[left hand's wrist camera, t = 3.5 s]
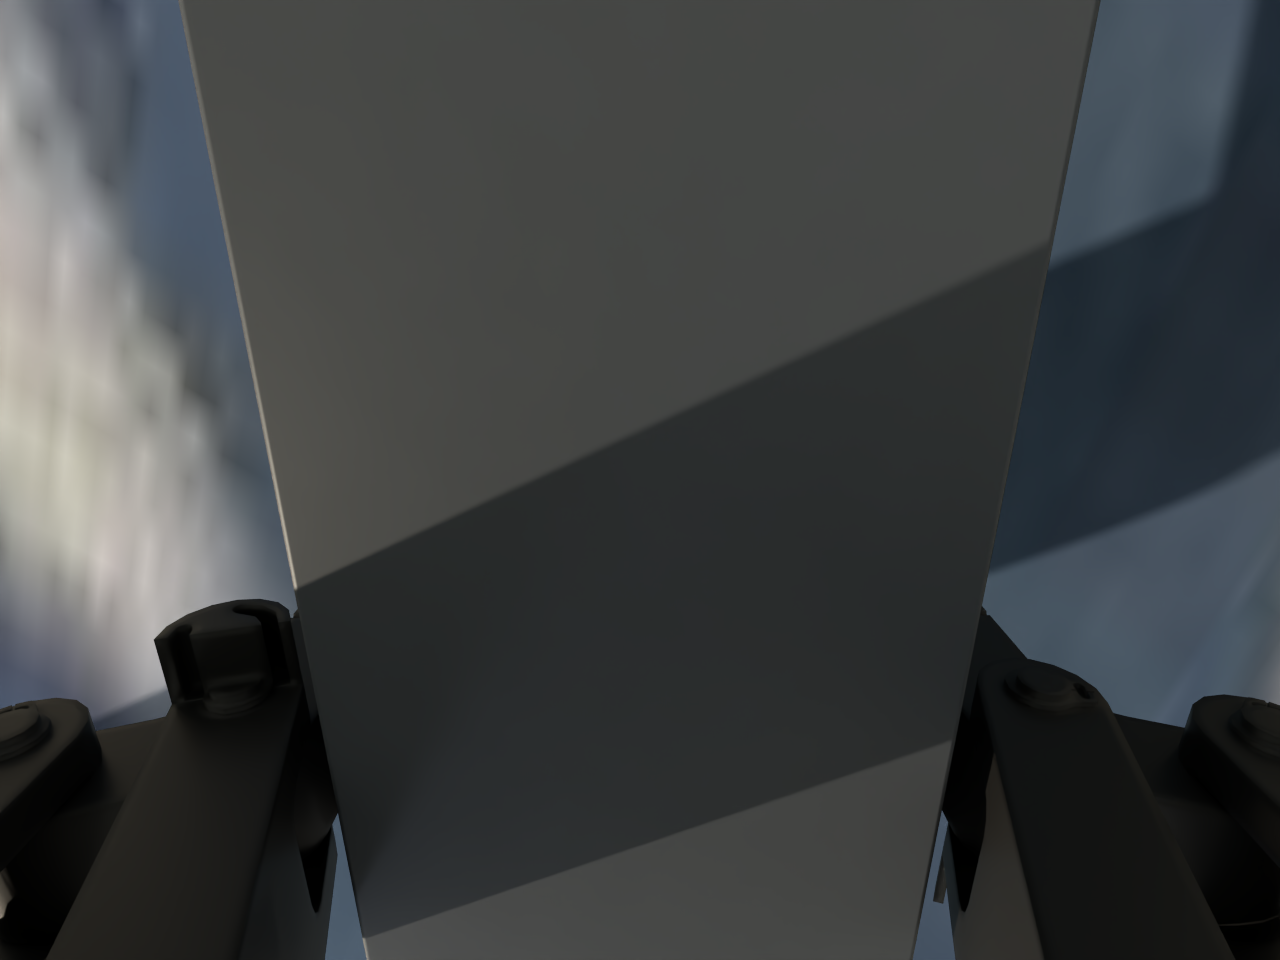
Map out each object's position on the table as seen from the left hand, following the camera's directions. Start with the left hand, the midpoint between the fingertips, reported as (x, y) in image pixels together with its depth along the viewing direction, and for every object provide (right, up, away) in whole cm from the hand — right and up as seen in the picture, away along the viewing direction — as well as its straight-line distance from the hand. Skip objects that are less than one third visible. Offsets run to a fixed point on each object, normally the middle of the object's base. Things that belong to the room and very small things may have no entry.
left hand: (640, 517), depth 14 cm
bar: (0, +8, -2) cm, 8 cm away
